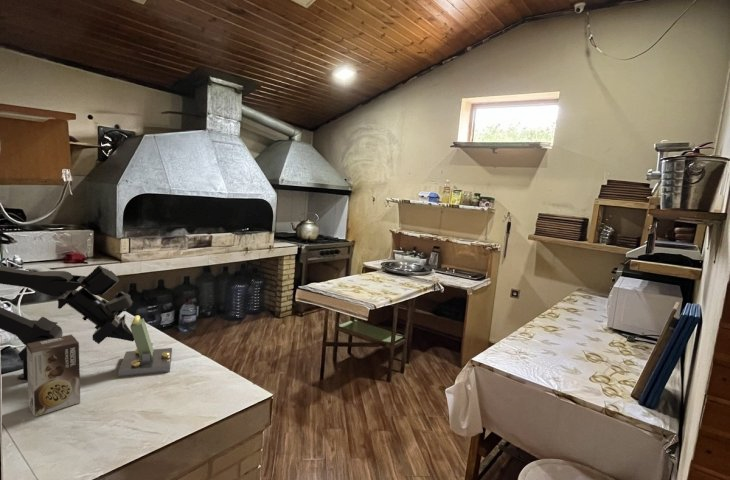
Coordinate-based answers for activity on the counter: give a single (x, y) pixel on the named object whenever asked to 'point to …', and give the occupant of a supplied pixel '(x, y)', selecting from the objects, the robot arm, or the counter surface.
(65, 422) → the counter surface
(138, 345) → the green lever
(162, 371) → the base
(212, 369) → the counter surface
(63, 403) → the coffee box
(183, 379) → the counter surface
